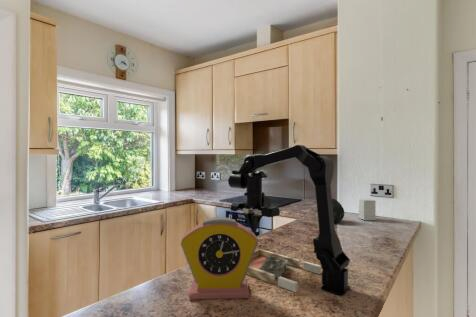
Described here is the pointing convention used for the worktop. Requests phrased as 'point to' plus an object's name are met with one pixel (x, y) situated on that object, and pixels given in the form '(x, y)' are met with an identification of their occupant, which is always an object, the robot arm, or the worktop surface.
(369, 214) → the supplement box
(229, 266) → the retro mantel clock
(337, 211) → the squash
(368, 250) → the worktop surface
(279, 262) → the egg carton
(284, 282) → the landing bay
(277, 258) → the channel
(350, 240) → the worktop surface
